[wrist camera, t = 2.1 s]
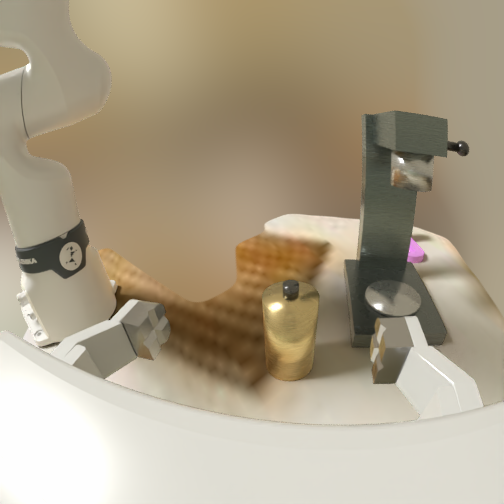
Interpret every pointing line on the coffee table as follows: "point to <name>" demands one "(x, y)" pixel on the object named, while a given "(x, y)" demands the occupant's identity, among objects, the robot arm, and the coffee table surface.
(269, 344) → the bottle
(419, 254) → the bracket
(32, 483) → the robot arm
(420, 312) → the press
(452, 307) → the coffee table surface
